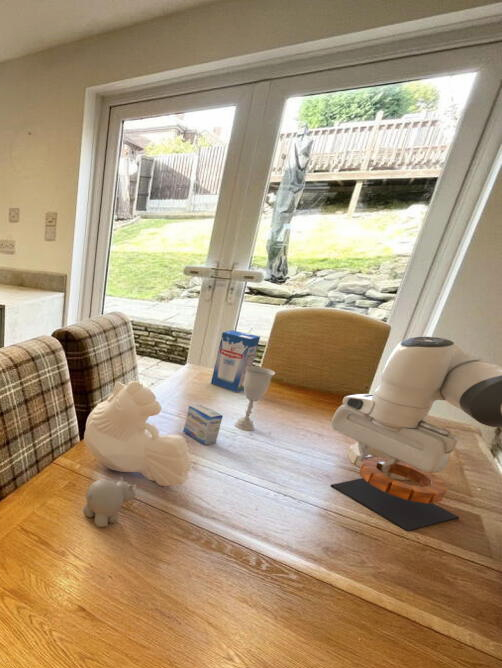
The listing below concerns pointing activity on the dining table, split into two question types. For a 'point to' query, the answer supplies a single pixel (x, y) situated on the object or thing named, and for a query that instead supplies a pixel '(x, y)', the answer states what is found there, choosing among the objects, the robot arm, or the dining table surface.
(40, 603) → the dining table surface
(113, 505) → the toy rhinoceros
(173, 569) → the dining table surface
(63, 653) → the dining table surface
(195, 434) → the medicine box
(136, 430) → the decorative rooster
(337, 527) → the dining table surface
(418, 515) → the mat
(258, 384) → the chalice
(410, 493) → the top ring
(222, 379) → the milk carton
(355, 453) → the bottom ring
